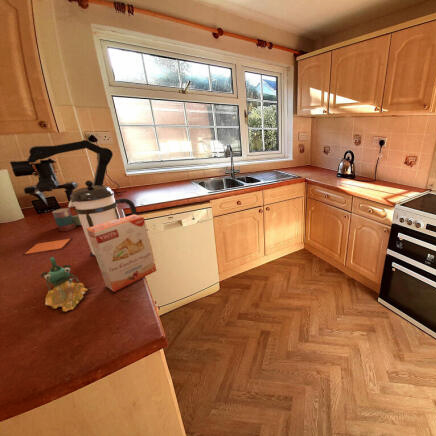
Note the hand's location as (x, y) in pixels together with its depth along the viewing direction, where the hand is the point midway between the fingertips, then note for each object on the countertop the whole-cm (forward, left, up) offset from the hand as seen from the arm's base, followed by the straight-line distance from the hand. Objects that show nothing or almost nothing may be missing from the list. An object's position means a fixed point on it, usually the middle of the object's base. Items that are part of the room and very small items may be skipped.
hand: (58, 204), depth 122 cm
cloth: (-2, +25, -12) cm, 28 cm away
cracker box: (-40, +68, -12) cm, 80 cm away
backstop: (-3, 0, -12) cm, 12 cm away
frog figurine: (-23, +70, -12) cm, 75 cm away
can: (-2, +5, -12) cm, 13 cm away
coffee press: (-30, +43, -12) cm, 54 cm away
